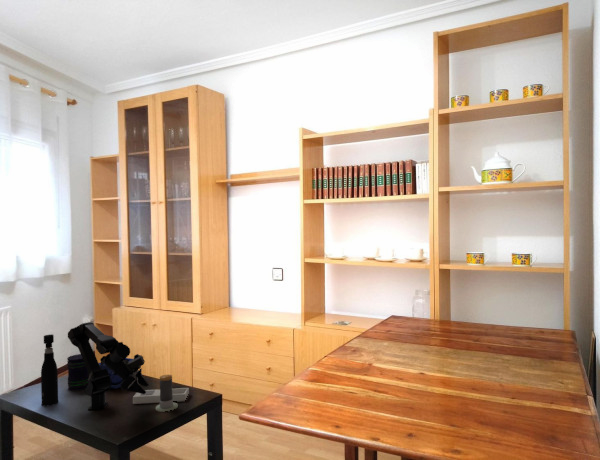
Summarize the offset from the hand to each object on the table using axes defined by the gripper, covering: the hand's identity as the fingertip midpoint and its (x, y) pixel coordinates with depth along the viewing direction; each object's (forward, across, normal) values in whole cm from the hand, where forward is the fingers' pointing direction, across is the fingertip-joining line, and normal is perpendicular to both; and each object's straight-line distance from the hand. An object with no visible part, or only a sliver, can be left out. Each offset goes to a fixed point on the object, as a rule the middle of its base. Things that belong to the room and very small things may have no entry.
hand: (146, 389), depth 181 cm
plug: (+11, 0, 0) cm, 11 cm away
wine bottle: (-24, +22, +37) cm, 49 cm away
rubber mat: (+12, 0, 0) cm, 12 cm away
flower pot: (-7, +38, +19) cm, 43 cm away
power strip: (+10, +11, +2) cm, 15 cm away
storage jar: (-19, +40, +32) cm, 55 cm away
